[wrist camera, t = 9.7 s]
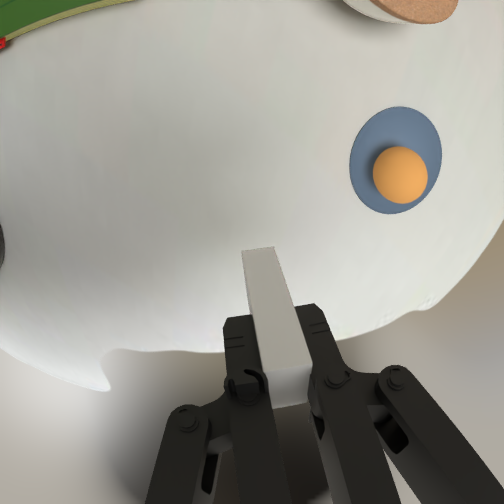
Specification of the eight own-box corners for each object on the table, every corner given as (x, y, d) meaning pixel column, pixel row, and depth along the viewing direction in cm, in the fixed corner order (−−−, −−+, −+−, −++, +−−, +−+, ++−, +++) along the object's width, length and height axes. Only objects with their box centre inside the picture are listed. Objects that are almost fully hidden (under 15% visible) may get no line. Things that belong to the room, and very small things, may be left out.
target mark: (346, 218, 30) (347, 219, 30) (350, 103, 24) (351, 104, 24) (432, 208, 31) (433, 209, 31) (445, 111, 24) (446, 112, 24)
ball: (359, 194, 28) (397, 218, 24) (362, 141, 25) (405, 158, 21) (396, 186, 30) (433, 207, 25) (401, 138, 27) (441, 154, 22)
